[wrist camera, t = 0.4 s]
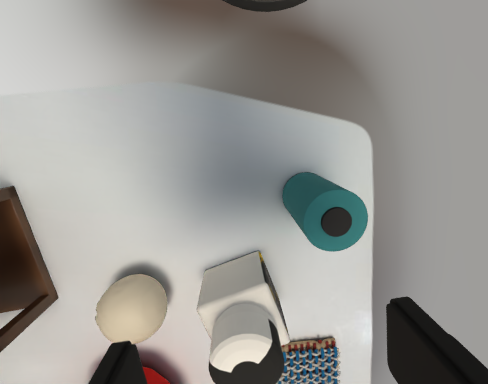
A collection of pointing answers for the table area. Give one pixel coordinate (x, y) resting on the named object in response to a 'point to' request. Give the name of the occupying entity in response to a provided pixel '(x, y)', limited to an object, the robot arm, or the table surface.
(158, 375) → the tomato
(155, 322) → the cream round ball
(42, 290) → the rack
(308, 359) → the woven mat
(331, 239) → the teal cylinder
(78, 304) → the table surface
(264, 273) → the medicine bottle
